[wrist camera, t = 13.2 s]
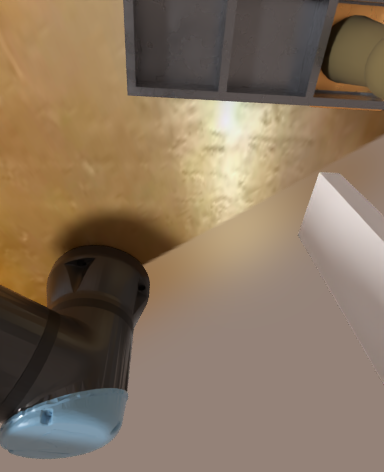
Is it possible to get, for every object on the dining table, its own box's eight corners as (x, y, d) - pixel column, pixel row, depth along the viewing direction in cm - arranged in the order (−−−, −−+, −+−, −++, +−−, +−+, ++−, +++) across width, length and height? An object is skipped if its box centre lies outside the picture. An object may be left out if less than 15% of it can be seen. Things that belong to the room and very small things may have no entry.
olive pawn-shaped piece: (382, 67, 34) (456, 91, 25) (324, 92, 35) (376, 124, 26) (377, 2, 31) (461, 3, 22) (314, 32, 32) (369, 44, 23)
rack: (411, -4, 32) (439, -5, 28) (372, 102, 37) (391, 112, 34) (127, -29, 29) (121, -33, 26) (131, 88, 35) (127, 97, 32)
